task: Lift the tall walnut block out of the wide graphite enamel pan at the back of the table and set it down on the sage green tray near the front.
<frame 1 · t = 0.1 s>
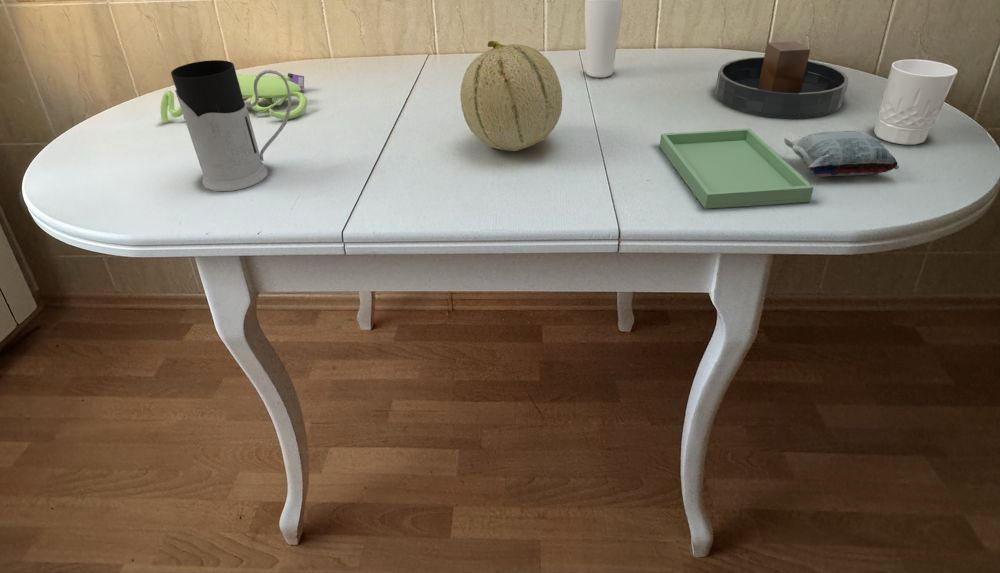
tray: (727, 171, 84), on the table
block: (782, 70, 104), in the pan
green coiled cable: (239, 106, 112), on the table
cantaloupe: (512, 147, 93), on the table
white cup: (898, 137, 92), on the table
glass holder: (256, 174, 88), on the table
grey bean bag: (834, 169, 84), on the table
pan: (776, 97, 107), on the table
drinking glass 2: (599, 75, 120), on the table
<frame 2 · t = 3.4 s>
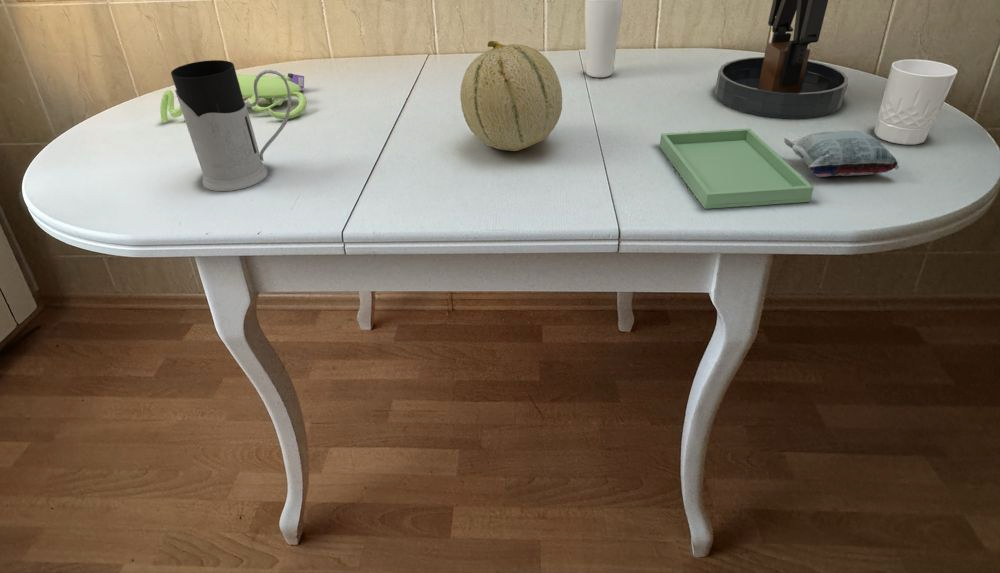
hand: (781, 78, 105), 3 cm above the table, tool pointing down, fingers closed on block, 5 cm apart
block: (782, 70, 104), in the pan, touching gripper
everything else where it was.
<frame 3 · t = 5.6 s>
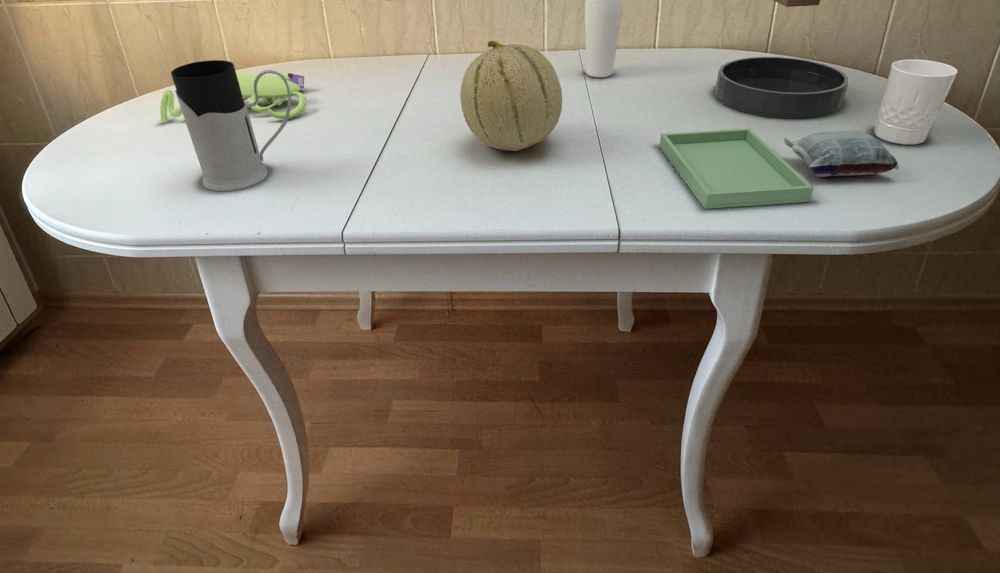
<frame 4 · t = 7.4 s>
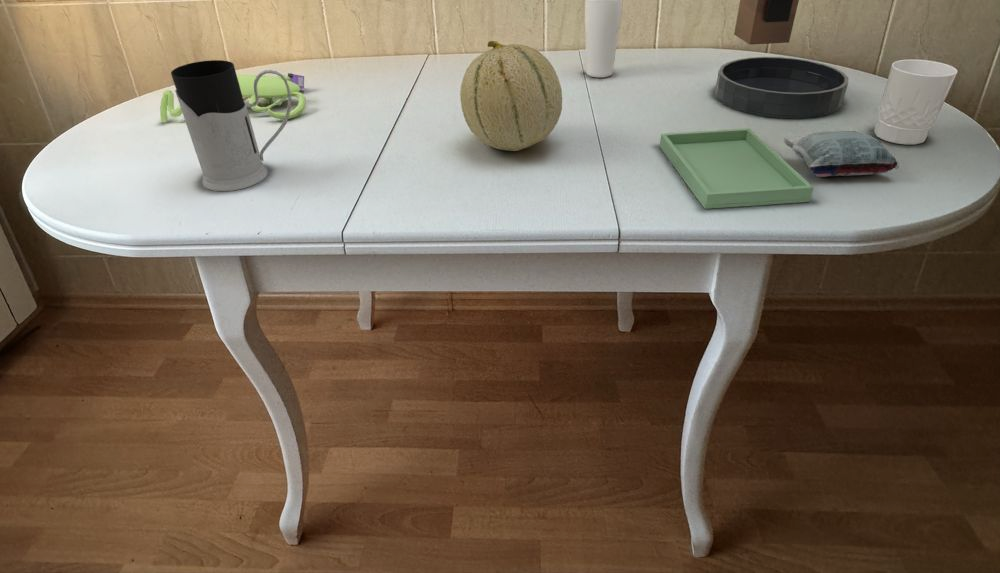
hand: (765, 15, 76), 19 cm above the table, tool pointing down, fingers closed on block, 5 cm apart
block: (767, 4, 76), point 20 cm above the table, touching gripper
everything else where it was.
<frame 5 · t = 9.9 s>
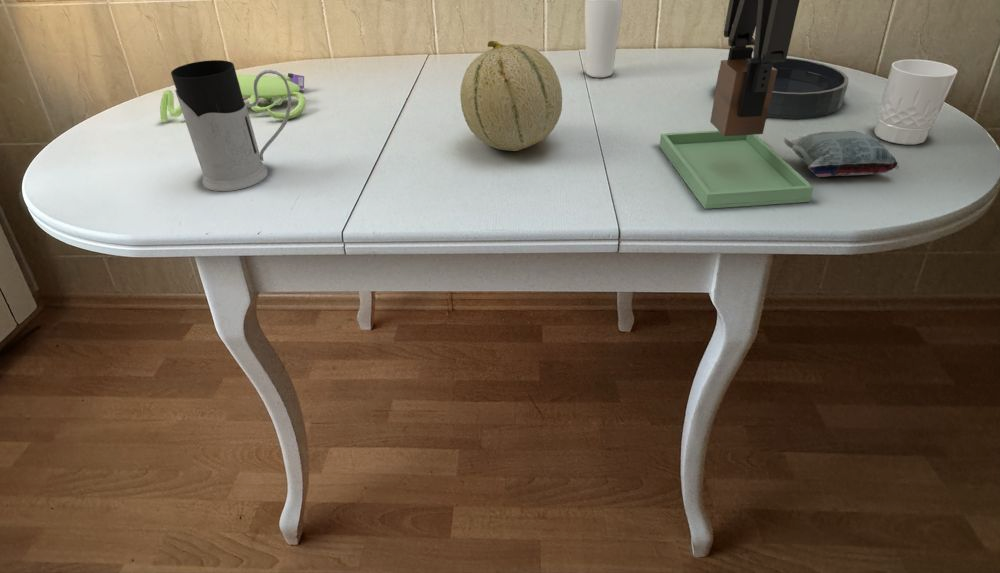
hand: (740, 107, 79), 9 cm above the table, tool pointing down, fingers closed on block, 5 cm apart
block: (741, 97, 78), point 10 cm above the table, touching gripper
everything else where it was.
when the fingers open (3 cm above the table, at t = 11.6 s): block stays where it is, resting on tray.
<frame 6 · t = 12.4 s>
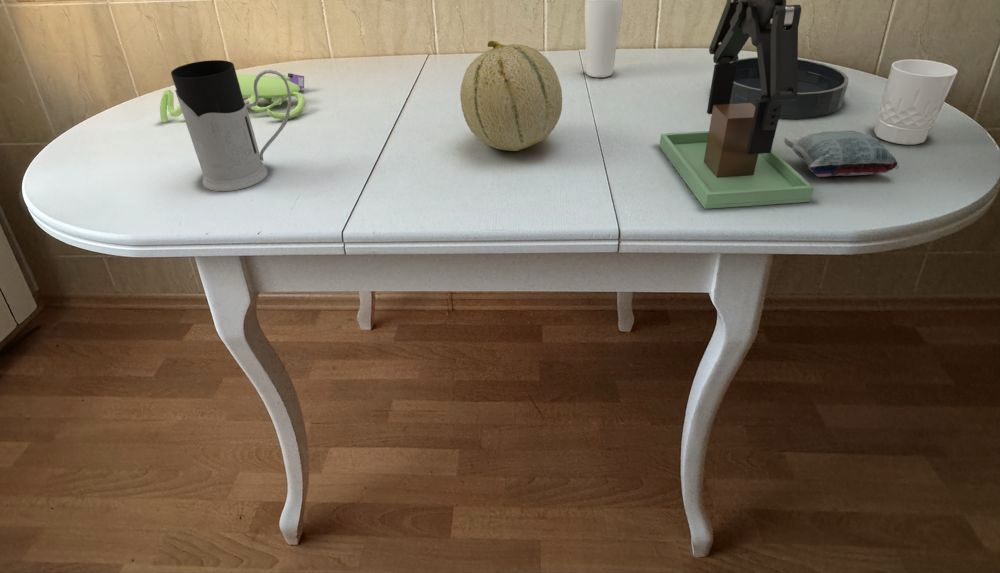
hand: (736, 131, 81), 6 cm above the table, tool pointing down, fingers open, 13 cm apart
block: (733, 140, 81), in the tray
everything else where it was.
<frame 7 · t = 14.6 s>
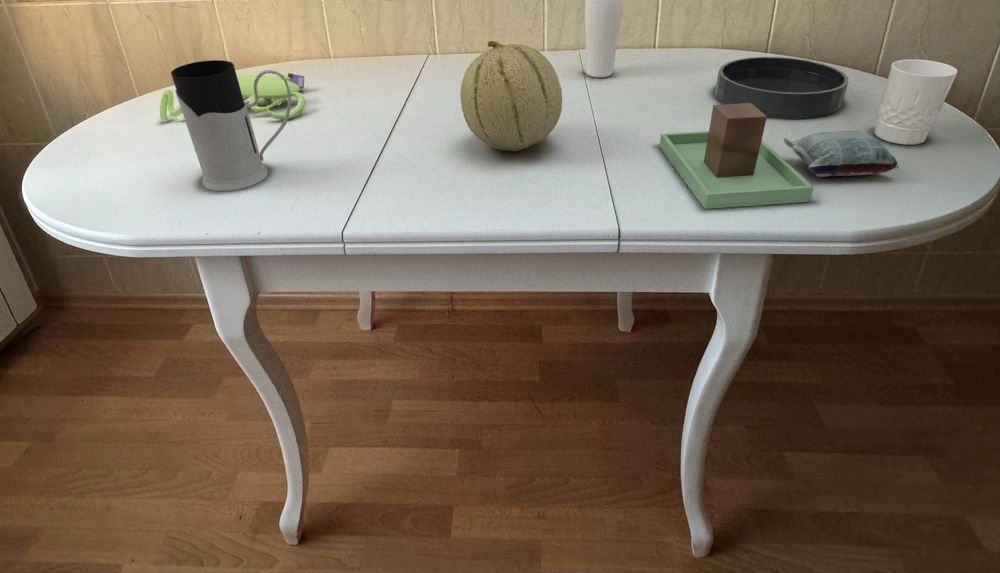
nothing on the table moved.
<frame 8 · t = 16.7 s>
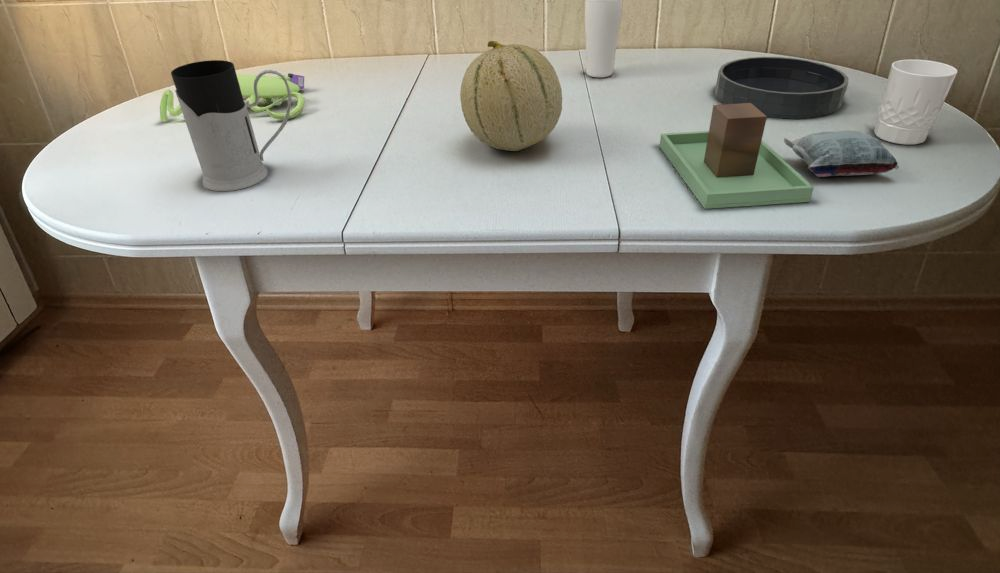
nothing on the table moved.
at the end: block inside the target area on the tray (0.1 cm from its centre), point 4.5 cm above the tray's base; block tilted 0°; the gripper is holding nothing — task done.
